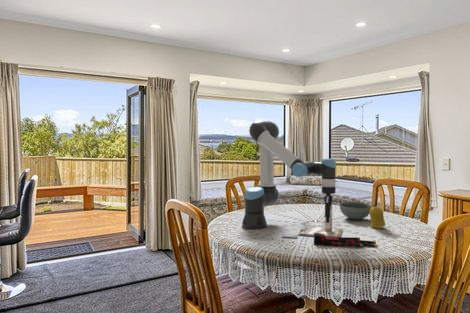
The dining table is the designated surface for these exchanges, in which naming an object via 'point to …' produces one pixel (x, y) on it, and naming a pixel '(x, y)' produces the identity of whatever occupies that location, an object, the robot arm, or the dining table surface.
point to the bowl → (355, 210)
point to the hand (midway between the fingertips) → (328, 227)
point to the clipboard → (319, 231)
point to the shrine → (376, 217)
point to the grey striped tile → (289, 235)
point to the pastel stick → (330, 221)
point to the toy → (342, 241)
